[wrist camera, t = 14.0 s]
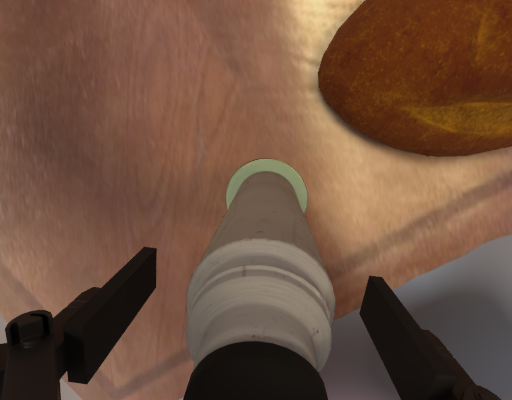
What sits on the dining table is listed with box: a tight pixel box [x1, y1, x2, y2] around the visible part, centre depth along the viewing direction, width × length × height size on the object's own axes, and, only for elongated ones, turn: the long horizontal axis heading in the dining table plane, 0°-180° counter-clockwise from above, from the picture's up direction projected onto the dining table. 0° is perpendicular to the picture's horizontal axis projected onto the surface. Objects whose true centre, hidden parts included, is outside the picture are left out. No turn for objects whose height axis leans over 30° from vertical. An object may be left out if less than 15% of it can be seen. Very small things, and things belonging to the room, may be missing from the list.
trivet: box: [226, 158, 307, 214], centre depth 36 cm, size 11×11×1 cm
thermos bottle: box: [183, 171, 335, 400], centre depth 22 cm, size 8×8×28 cm
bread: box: [318, 0, 512, 157], centre depth 25 cm, size 21×33×12 cm, turn 93°
